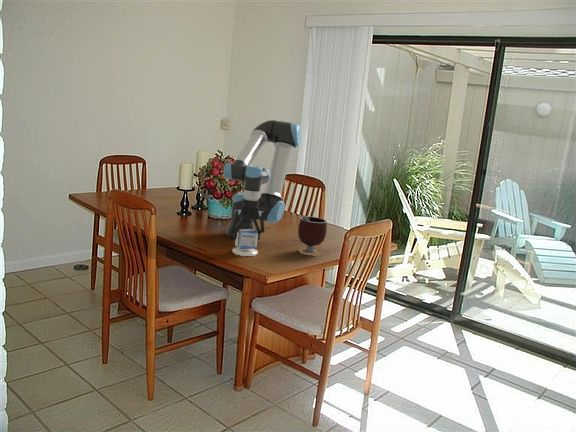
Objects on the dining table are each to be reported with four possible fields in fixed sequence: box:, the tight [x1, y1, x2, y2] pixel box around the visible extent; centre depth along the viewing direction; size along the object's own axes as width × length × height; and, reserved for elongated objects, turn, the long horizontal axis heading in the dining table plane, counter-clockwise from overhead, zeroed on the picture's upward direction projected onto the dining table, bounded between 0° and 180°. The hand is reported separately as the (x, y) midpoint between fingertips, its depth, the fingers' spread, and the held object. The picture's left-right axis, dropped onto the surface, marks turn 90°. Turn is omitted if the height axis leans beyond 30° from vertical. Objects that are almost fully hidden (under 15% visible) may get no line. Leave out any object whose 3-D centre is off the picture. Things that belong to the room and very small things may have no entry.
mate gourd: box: [297, 214, 328, 253], centre depth 276 cm, size 16×14×20 cm
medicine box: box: [236, 228, 257, 249], centre depth 263 cm, size 8×4×9 cm, turn 117°
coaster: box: [232, 246, 259, 257], centre depth 264 cm, size 12×12×1 cm
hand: (245, 245), depth 264 cm, fingers closed on medicine box, 8 cm apart
